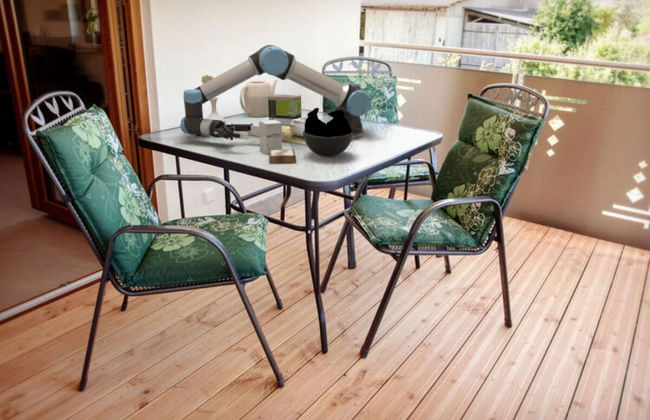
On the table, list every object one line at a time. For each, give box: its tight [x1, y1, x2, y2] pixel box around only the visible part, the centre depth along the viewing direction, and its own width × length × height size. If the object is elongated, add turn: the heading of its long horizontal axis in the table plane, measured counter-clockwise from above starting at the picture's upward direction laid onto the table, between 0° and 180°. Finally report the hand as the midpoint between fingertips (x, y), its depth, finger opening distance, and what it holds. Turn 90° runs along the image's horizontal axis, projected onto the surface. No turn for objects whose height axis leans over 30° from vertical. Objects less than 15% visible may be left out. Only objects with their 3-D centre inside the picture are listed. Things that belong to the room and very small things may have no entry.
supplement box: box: [258, 119, 283, 155], centre depth 206 cm, size 7×7×13 cm
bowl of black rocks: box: [302, 107, 354, 158], centre depth 199 cm, size 20×20×19 cm
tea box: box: [268, 93, 302, 126], centre depth 260 cm, size 15×10×15 cm, turn 71°
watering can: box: [239, 79, 278, 118], centre depth 280 cm, size 16×27×19 cm, turn 135°
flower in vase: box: [201, 74, 227, 125], centre depth 253 cm, size 13×11×25 cm
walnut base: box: [268, 148, 297, 165], centre depth 195 cm, size 10×10×3 cm
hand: (256, 133), depth 208 cm, fingers open, 13 cm apart
